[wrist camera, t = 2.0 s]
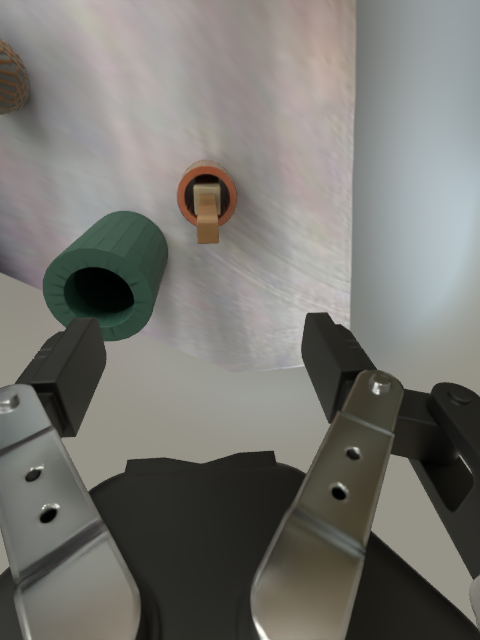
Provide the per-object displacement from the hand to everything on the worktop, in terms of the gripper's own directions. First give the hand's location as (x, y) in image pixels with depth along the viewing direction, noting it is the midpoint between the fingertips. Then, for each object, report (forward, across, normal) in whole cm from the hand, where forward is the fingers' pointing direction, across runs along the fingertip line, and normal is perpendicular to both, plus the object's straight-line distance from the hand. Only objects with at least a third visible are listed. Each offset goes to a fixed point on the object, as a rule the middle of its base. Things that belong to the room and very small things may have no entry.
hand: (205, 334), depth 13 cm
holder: (+34, 0, 0) cm, 34 cm away
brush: (+34, 0, 0) cm, 34 cm away
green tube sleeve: (+34, +11, +8) cm, 36 cm away
